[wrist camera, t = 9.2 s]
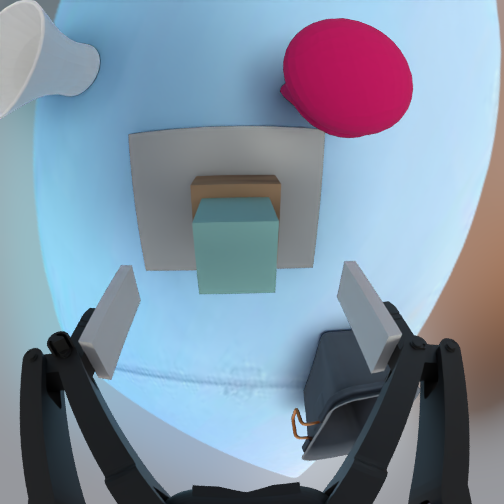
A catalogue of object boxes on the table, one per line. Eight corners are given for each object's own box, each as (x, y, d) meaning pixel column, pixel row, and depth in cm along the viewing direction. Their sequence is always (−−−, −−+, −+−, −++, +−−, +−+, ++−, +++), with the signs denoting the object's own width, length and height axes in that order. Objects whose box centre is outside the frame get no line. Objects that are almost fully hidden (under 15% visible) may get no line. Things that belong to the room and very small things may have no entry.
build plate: (131, 133, 25) (128, 134, 25) (322, 129, 27) (325, 129, 26) (148, 266, 33) (146, 270, 32) (310, 263, 34) (312, 267, 33)
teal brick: (201, 198, 24) (192, 222, 19) (269, 197, 25) (279, 221, 19) (205, 257, 27) (199, 294, 22) (267, 256, 27) (275, 292, 22)
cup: (32, 101, 22) (-47, 112, 10) (66, 24, 18) (-5, 1, 6) (92, 124, 24) (11, 140, 12) (133, 38, 20) (69, 0, 8)
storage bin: (351, 392, 49) (371, 450, 36) (277, 400, 48) (286, 465, 35) (388, 313, 39) (429, 382, 26) (293, 319, 38) (315, 405, 25)
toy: (281, 140, 27) (325, 164, 14) (250, 68, 23) (267, 20, 10) (353, 117, 26) (443, 128, 13) (326, 47, 22) (400, 3, 9)
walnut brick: (196, 176, 27) (190, 185, 24) (275, 174, 28) (281, 184, 24) (200, 246, 31) (196, 264, 27) (272, 245, 31) (277, 263, 28)
